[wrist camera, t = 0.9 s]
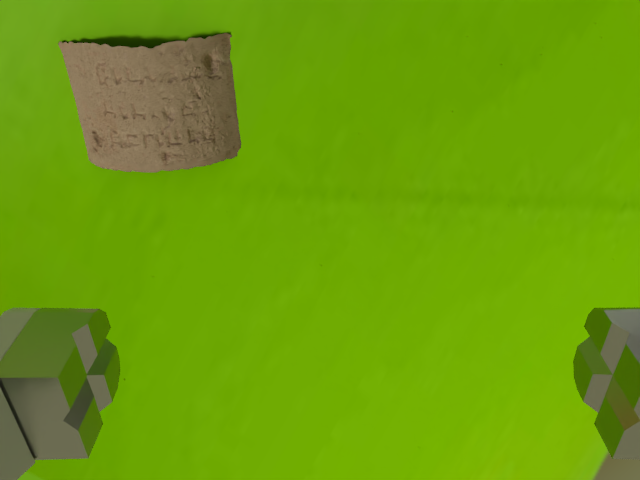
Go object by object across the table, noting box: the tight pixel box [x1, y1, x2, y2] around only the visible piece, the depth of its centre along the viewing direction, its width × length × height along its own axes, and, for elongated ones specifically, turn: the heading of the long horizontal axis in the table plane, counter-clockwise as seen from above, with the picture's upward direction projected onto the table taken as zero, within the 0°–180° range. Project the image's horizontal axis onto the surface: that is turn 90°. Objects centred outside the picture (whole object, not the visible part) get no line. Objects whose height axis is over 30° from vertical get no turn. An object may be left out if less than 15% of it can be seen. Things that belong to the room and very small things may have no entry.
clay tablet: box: [58, 33, 241, 172], centre depth 42 cm, size 14×10×3 cm
